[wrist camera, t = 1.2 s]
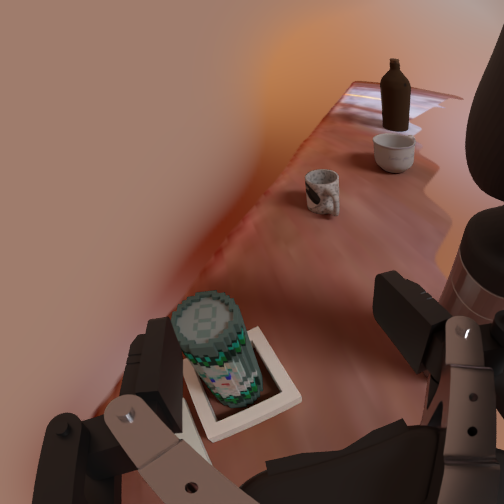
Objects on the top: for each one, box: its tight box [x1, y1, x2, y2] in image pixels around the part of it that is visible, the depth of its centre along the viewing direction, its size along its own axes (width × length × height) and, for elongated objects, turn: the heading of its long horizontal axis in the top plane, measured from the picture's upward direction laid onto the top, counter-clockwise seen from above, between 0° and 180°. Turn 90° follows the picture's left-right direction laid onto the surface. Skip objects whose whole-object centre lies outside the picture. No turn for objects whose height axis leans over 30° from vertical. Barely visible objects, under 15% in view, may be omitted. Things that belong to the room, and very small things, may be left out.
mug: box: [305, 169, 339, 216], centre depth 58 cm, size 10×7×7 cm
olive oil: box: [380, 59, 411, 131], centre depth 82 cm, size 11×11×25 cm
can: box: [171, 290, 263, 408], centre depth 30 cm, size 6×6×15 cm
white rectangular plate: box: [175, 398, 212, 465], centre depth 30 cm, size 8×10×1 cm
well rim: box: [183, 326, 302, 442], centre depth 35 cm, size 12×12×2 cm
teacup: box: [373, 133, 416, 173], centre depth 67 cm, size 14×11×8 cm
